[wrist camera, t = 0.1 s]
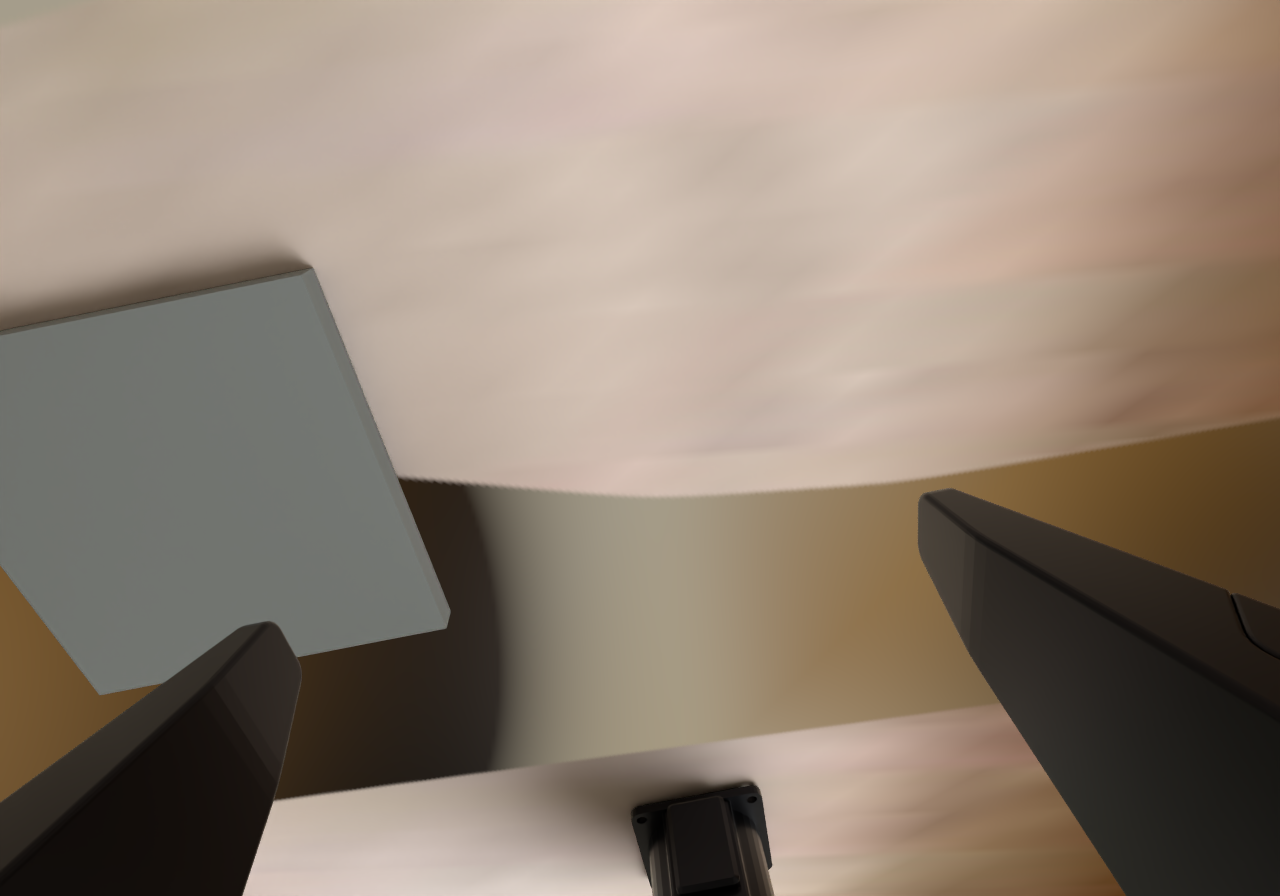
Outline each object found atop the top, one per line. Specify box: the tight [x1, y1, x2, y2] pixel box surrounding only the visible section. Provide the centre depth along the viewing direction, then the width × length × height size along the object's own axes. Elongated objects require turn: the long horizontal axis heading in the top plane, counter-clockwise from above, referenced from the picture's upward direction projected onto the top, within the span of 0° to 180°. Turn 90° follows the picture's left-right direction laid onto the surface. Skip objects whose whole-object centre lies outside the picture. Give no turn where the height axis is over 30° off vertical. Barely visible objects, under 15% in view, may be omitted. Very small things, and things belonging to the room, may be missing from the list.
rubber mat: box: [0, 268, 451, 695], centre depth 24 cm, size 14×14×1 cm
